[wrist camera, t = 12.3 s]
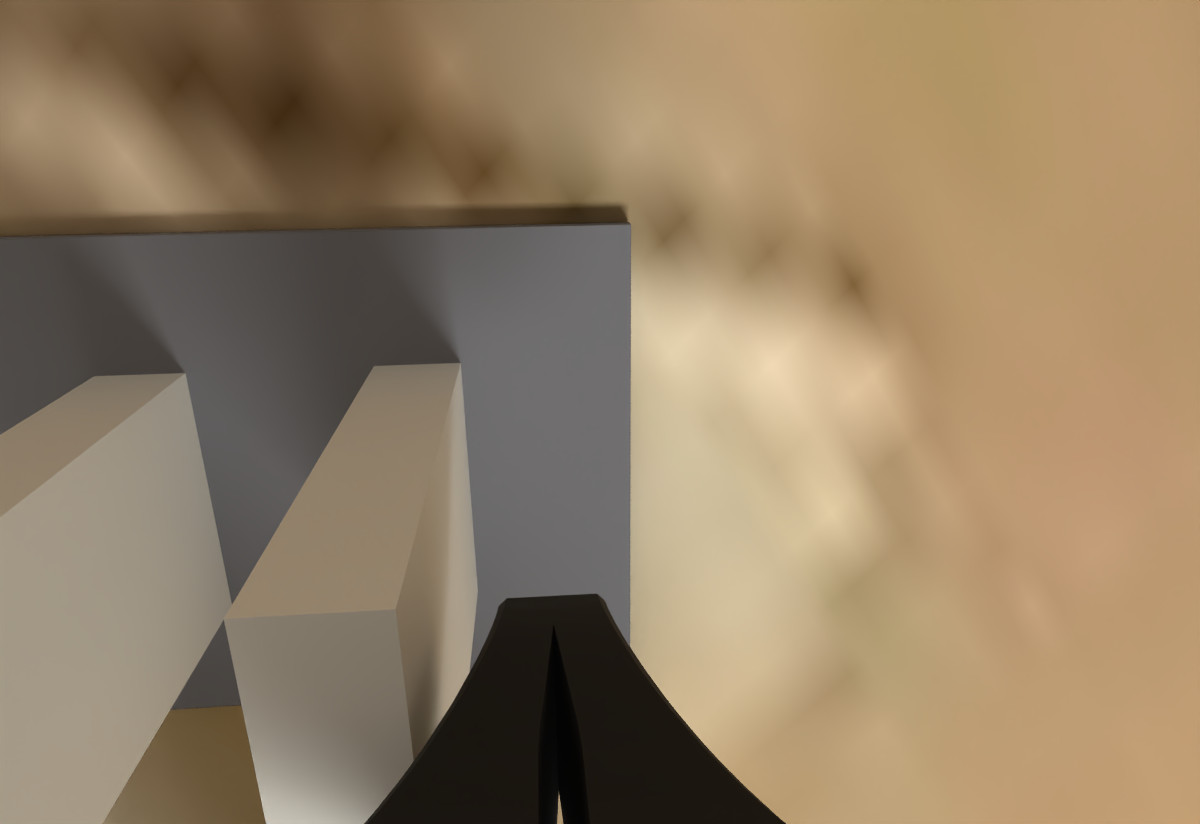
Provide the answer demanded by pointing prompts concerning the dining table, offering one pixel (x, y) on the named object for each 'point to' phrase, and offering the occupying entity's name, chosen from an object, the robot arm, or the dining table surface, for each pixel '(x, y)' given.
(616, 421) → the mat
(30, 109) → the dining table surface
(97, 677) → the domino
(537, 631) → the robot arm
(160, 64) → the dining table surface
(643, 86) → the dining table surface
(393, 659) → the domino
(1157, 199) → the dining table surface
